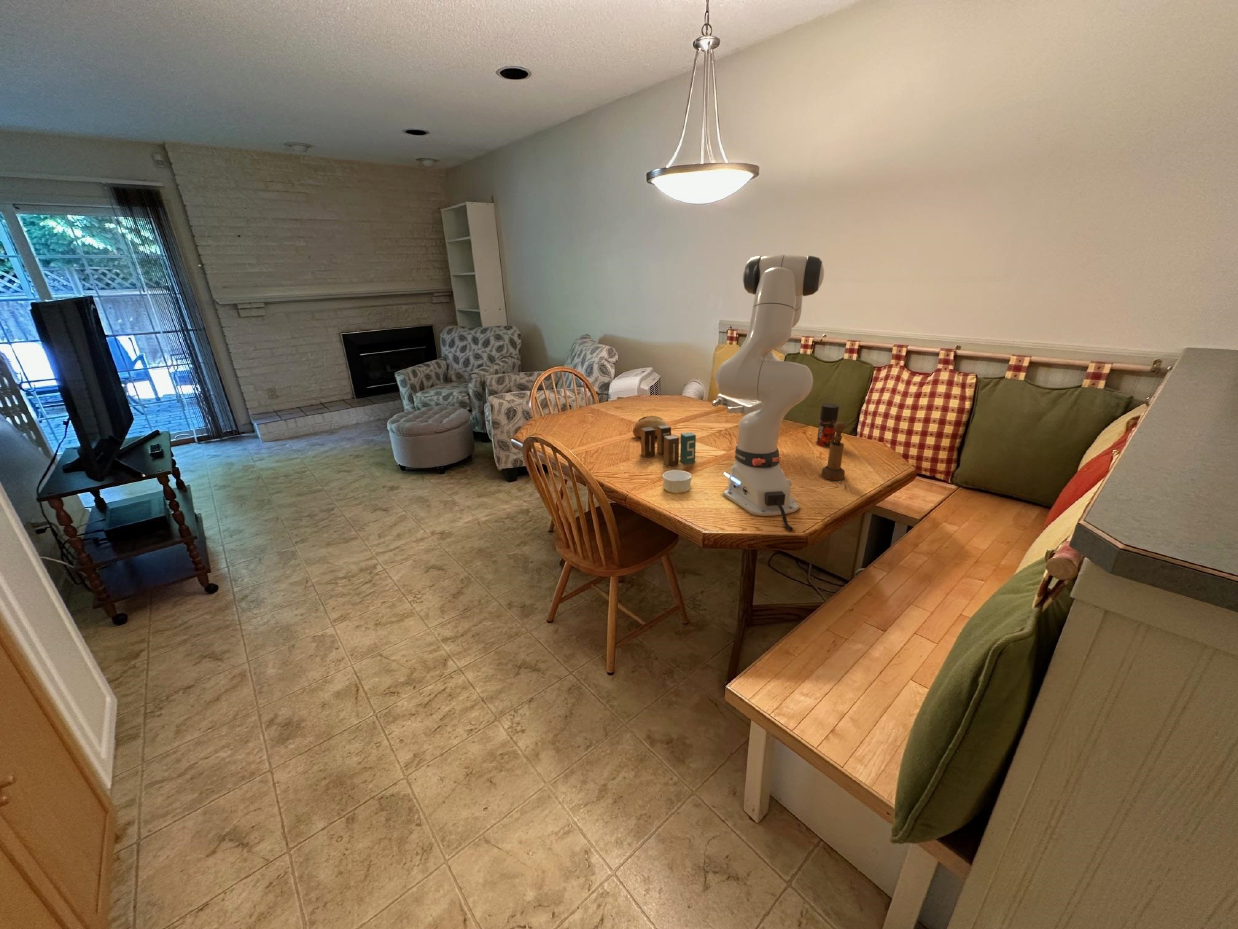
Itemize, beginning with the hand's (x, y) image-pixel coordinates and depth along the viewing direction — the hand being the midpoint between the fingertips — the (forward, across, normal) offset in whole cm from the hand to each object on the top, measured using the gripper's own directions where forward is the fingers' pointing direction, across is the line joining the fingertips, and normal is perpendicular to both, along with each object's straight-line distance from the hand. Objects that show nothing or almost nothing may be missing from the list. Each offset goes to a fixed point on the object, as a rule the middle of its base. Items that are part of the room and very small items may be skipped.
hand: (720, 407), depth 166 cm
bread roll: (+12, -31, +18) cm, 38 cm away
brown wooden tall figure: (-20, +33, +18) cm, 43 cm away
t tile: (+16, -12, +18) cm, 27 cm away
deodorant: (-42, +8, +20) cm, 47 cm away
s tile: (+13, 0, +18) cm, 22 cm away
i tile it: (+23, -12, +17) cm, 31 cm away
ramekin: (+28, +18, +17) cm, 37 cm away
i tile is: (+20, 0, +17) cm, 26 cm away
